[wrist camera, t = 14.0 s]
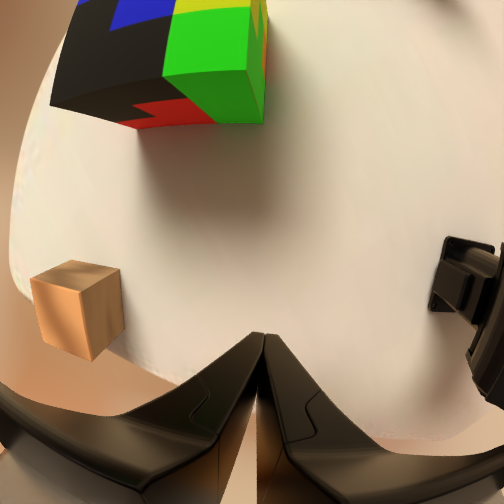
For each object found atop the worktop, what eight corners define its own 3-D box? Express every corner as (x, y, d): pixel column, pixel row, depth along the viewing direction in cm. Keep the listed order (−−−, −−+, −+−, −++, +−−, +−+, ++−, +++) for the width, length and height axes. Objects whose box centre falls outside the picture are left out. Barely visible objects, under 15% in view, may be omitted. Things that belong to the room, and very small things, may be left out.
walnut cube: (29, 278, 17) (72, 259, 23) (43, 341, 18) (79, 314, 24) (78, 293, 16) (120, 268, 22) (91, 361, 18) (125, 328, 24)
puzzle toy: (152, 28, 17) (92, -29, 7) (267, 16, 16) (256, -68, 6) (137, 129, 19) (49, 105, 9) (263, 123, 18) (245, 69, 8)
